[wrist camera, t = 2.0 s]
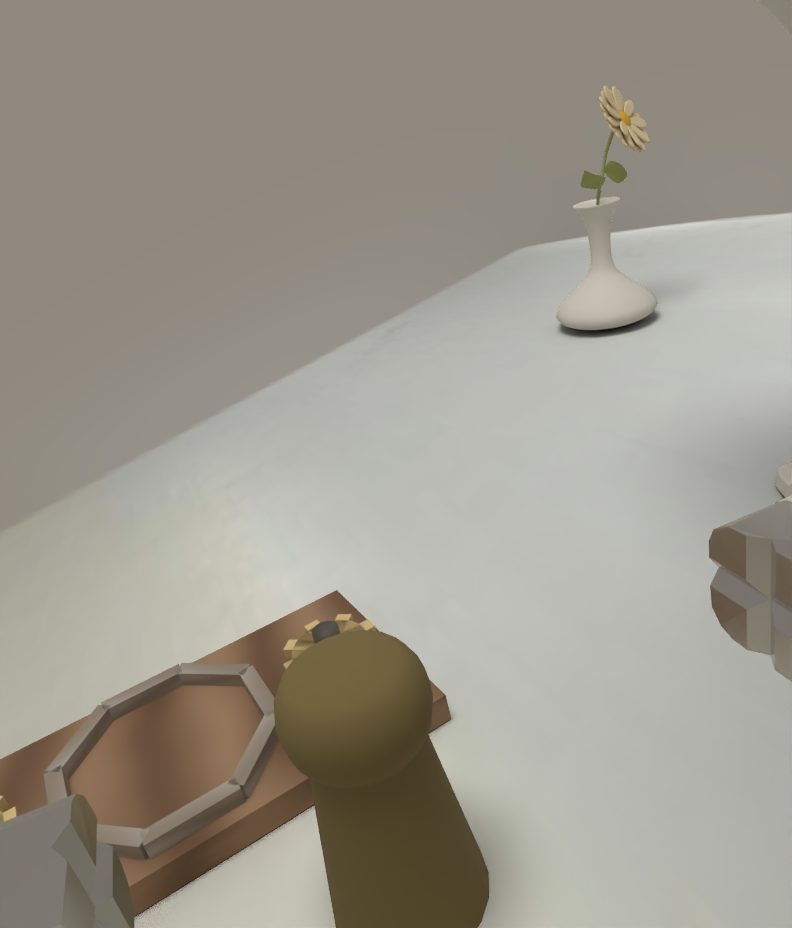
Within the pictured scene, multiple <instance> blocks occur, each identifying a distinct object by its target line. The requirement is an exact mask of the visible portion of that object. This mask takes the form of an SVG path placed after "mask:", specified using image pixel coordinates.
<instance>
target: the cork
mask: <svg viewBox="0 0 792 928" xmlns="http://www.w3.org/2000/svg"><path fill="white" fill-rule="evenodd" d="M432 708H433V693H432V688H431V684H430V681H429V678H428V676H427V673H426V671H425V668H424V666H423V664H422V663H421V661H420V659H419V658H418V656H417V655H416V654H415V653H414V652H413V651H412V650H411V649H410V648H409V647H408V646H406V645H405V644H404V643H403V642H401V641H400V640H398V639H397V638H395V637H393V636H390V635H388V634H385V633H383V632H377V631H368V630H360V631H351V632H344V633H341V634H337V635H334V636H331V637H328V638H325V639H323V640H321V641H319V642H318V643H316V644H314V645H312V646H310V647H308V648H307V649H306V650H304V651H303V652H302V653H301V654H300V655H298V656H297V657H296V658H295V659H294V660H293V661H292V662H291V664H290V665H289V666H288V668H287V669H286V670H285V672H284V673H283V675H282V678H281V681H280V684H279V687H278V690H277V693H276V696H275V699H274V717H275V728H276V734H277V737H278V739H279V742H280V744H281V746H282V748H283V749H284V751H285V753H286V754H287V756H288V757H289V759H290V761H291V762H292V763H293V764H294V766H295V767H296V768H297V769H298V770H299V771H300V772H301V773H302V774H304V775H305V776H307V777H308V778H310V782H311V788H312V793H313V799H314V805H315V810H316V816H317V822H318V827H319V833H320V839H321V845H322V850H323V856H324V862H325V867H326V873H327V879H328V884H329V890H330V896H331V902H332V907H333V913H334V919H335V924H336V928H477V927H478V925H479V924H480V923H481V921H482V917H483V914H484V911H485V908H486V904H487V901H488V898H489V880H488V870H487V867H486V865H485V862H484V859H483V857H482V854H481V851H480V849H479V847H478V845H477V842H476V840H475V838H474V836H473V834H472V831H471V829H470V827H469V825H468V822H467V820H466V818H465V816H464V813H463V811H462V809H461V807H460V805H459V802H458V800H457V798H456V796H455V793H454V791H453V789H452V787H451V784H450V782H449V780H448V778H447V776H446V773H445V771H444V769H443V767H442V764H441V762H440V760H439V758H438V755H437V753H436V751H435V749H434V747H433V744H432V742H431V740H430V738H429V735H428V734H429V732H430V729H431V722H432Z"/></svg>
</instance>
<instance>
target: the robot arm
mask: <svg viewBox="0 0 792 928" xmlns="http://www.w3.org/2000/svg"><path fill="white" fill-rule="evenodd" d="M755 1H757V2H758V3H759V4H760V5H762V6H763V7H764V8H765V9H766V10H767V11H768V12H769V13H770V14H771V15H772V16H773V17H774V18H775V19H776V20H777V21H778V22H779V23H780V24H781V25H782V26H783V27H784V29H785V30H786V31H787V32H788V34H789V35H790V36H791V37H792V0H755ZM775 484H776V487H777V488H778V490H779V491H780V492H781V493H782V494H783V496H784V497H785V498H784V499H782V500H779V501H777V502H776V503H775V504H773V505H770V506H768V507H766V508H763V509H761V510H759V511H756V512H754V513H751V514H749V515H747V516H744V517H742V518H740V519H737V520H735V521H733V522H730V523H728V524H725V525H723V526H721V527H718V528H716V529H714V530H713V532H712V535H711V537H710V540H709V558H710V559H711V560H712V561H713V562H714V563H715V564H716V565H717V566H718V567H719V569H718V571H717V573H716V575H715V577H714V579H713V581H712V583H711V585H710V588H711V600H712V608H713V610H714V612H715V614H716V616H717V618H718V620H719V622H720V624H721V626H722V627H723V628H724V630H725V631H726V632H727V633H728V634H729V635H730V636H731V638H732V639H734V640H735V641H736V642H738V643H739V644H740V645H742V646H743V647H744V648H746V649H747V650H750V651H755V652H759V653H763V654H768V655H771V658H772V661H773V664H774V668H775V670H776V671H777V672H779V673H780V674H782V675H783V676H784V677H786V678H787V679H789V680H790V681H791V682H792V461H791V462H789V463H786V464H784V465H782V466H780V467H779V468H778V470H777V475H776V482H775ZM0 928H134V912H133V906H132V901H131V895H130V890H129V885H128V881H127V878H126V875H125V873H124V870H123V867H122V864H121V862H120V860H119V858H118V856H117V854H116V852H115V850H114V848H113V846H110V845H107V844H105V843H102V842H99V841H97V816H96V815H95V813H94V811H93V810H92V808H91V806H90V805H89V803H88V801H87V799H86V798H85V796H83V795H80V794H77V793H76V794H73V795H71V796H68V797H66V798H63V799H61V800H58V801H56V802H53V803H50V804H48V805H45V806H43V807H40V808H38V809H35V810H32V811H30V812H27V813H25V814H22V815H20V816H17V817H15V818H12V819H9V820H7V821H4V822H2V823H0Z"/></svg>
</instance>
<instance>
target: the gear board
mask: <svg viewBox="0 0 792 928" xmlns="http://www.w3.org/2000/svg"><path fill="white" fill-rule="evenodd" d="M360 630H368V631H377V632H379V631H378V630H377V629H376V628H375V626H374V625H373V624H372V623H371V622H370V621H369V620H368V619H366V618H365V617H364V616H363V615H362V614H361V613H360V612H359V611H358V610H357V609H356V608H355V607H353V606H352V605H351V604H350V603H349V602H348V601H347V600H346V599H345V598H344V597H343V596H342V595H341V594H340V593H339V592H338V591H337V590H336V591H334V592H332V593H330V594H328V595H326V596H324V597H322V598H320V599H318V600H316V601H314V602H312V603H310V604H308V605H306V606H304V607H302V608H300V609H298V610H296V611H294V612H292V613H290V614H288V615H286V616H285V617H283V618H281V619H279V620H277V621H275V622H273V623H271V624H269V625H267V626H265V627H263V628H261V629H259V630H257V631H255V632H253V633H251V634H249V635H247V636H245V637H243V638H241V639H239V640H237V641H235V642H233V643H231V644H229V645H227V646H225V647H223V648H221V649H219V650H217V651H215V652H213V653H211V654H209V655H207V656H205V657H203V658H201V659H199V660H197V661H195V662H193V663H182V664H181V665H180V666H179V664H178V665H176V666H174V667H172V668H170V669H168V670H166V671H164V672H162V673H160V674H158V675H156V676H154V677H152V678H150V679H148V680H146V681H144V682H142V683H140V684H138V685H136V686H134V687H132V688H130V689H128V690H126V691H124V692H122V693H120V694H118V695H116V696H114V697H112V698H110V699H108V700H106V701H104V702H102V703H101V704H102V705H98V706H97V707H96V708H95V710H94V711H93V712H92V713H91V714H90V715H88V716H86V717H84V718H82V719H80V720H78V721H76V722H74V723H72V724H70V725H68V726H66V727H64V728H62V729H60V730H58V731H56V732H54V733H52V734H50V735H48V736H46V737H44V738H42V739H40V740H38V741H36V742H34V743H32V744H30V745H28V746H26V747H24V748H22V749H20V750H18V751H16V752H14V753H12V754H10V755H8V756H6V757H4V758H2V759H0V823H2V822H4V821H7V820H9V819H12V818H15V817H17V816H20V815H22V814H25V813H27V812H30V811H32V810H35V809H38V808H40V807H43V806H45V805H48V804H50V803H53V802H56V801H58V800H61V799H63V798H66V797H68V796H71V795H73V794H76V793H77V794H80V795H83V796H85V798H86V799H87V801H88V803H89V805H90V806H91V808H92V810H93V811H94V813H95V815H96V816H97V841H99V842H102V843H105V844H107V845H110V846H113V848H114V850H115V852H116V854H117V856H118V858H119V860H120V862H121V864H122V867H123V870H124V873H125V875H126V878H127V881H128V885H129V890H130V895H131V901H132V906H133V912H134V916H136V915H137V914H139V913H141V912H142V911H144V910H145V909H147V908H149V907H150V906H152V905H153V904H155V903H157V902H158V901H160V900H161V899H163V898H165V897H166V896H168V895H170V894H171V893H173V892H174V891H176V890H178V889H179V888H181V887H182V886H184V885H186V884H187V883H189V882H190V881H192V880H194V879H195V878H197V877H198V876H200V875H202V874H203V873H205V872H206V871H208V870H210V869H211V868H213V867H214V866H216V865H218V864H219V863H221V862H222V861H224V860H226V859H227V858H229V857H230V856H232V855H234V854H235V853H237V852H238V851H240V850H242V849H243V848H245V847H247V846H248V845H250V844H251V843H253V842H255V841H256V840H258V839H259V838H261V837H263V836H264V835H266V834H267V833H269V832H271V831H272V830H274V829H275V828H277V827H279V826H280V825H282V824H283V823H285V822H287V821H288V820H290V819H291V818H293V817H295V816H296V815H298V814H299V813H301V812H303V811H304V810H306V809H307V808H309V807H311V806H312V805H314V799H313V793H312V788H311V782H310V778H308V777H307V776H305V775H304V774H302V773H301V772H300V771H299V770H298V769H297V768H296V767H295V766H294V764H293V763H292V762H291V761H290V759H289V757H288V756H287V754H286V753H285V751H284V749H283V748H282V746H281V744H280V742H279V739H278V737H277V734H276V728H275V717H274V699H275V696H276V693H277V690H278V687H279V684H280V681H281V678H282V675H283V673H284V672H285V670H286V669H287V668H288V666H289V665H290V664H291V662H292V661H293V660H294V659H295V658H296V657H297V656H298V655H300V654H301V653H302V652H303V651H304V650H306V649H307V648H308V647H310V646H312V645H314V644H316V643H318V642H319V641H321V640H323V639H325V638H328V637H331V636H334V635H337V634H341V633H344V632H351V631H360ZM429 681H430V680H429ZM430 684H431V688H432V693H433V708H432V722H431V729H430V732H431V731H433V730H434V729H436V728H437V727H439V726H441V725H442V724H444V723H445V722H447V721H449V720H450V719H451V716H450V712H449V708H448V704H447V700H446V695H445V694H444V693H443V692H442V691H441V690H440V689H439V688H437V687H436V686H435V685H434V684H433V683H432V682H431V681H430Z"/></svg>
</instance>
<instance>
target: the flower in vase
mask: <svg viewBox="0 0 792 928" xmlns="http://www.w3.org/2000/svg"><path fill="white" fill-rule="evenodd" d="M601 96H602V97H601ZM601 96H600V97H599V99H600V102H601V104H600V107H601V109H602V111H603V112H604V117H605V119H606V120H607V121H608V122H609V128H610V129H611V130H612V131H611V134H610V137H609V139H608V143H607V146H606V149H605V153H604V158H603V164H602V170H601V175H600V176H599V175H595V174H592V173H589V172H587V171H584V174H583V177H582V181H581V186H582V187H583V188H590V189H597V188H598V192H597V199H594V200H589V201H585V202H581V203H578V204H576V205H574V206H573V208H574V209H575V210H576V211H577V212H578V214H579V215H580V216H581V218H582V220H583V222H584V224H585V227H586V230H587V234H588V238H589V244H590V251H591V267H590V270H589V273H588V274H587V276H586V277H585V279H584V280H583V281H582V282H581V283H580V284H579V285H578V286H577V287H576V288H575V289H574V290H573V291H572V292H571V293H570V295H569V296H568V297H567V298H566V299H565V300H564V302H563V303H562V304H561V306H560V307H559V309H558V312H557V316H556V317H557V319H558V320H559V322H560V323H561V324H562V325H564V326H566V327H570V328H574V329H579V330H602V329H610V328H616V327H621V326H625V325H628V324H631V323H634V322H637V321H639V320H641V319H643V318H645V317H647V316H648V315H650V314H651V313H652V312H653V311H654V310H655V308H656V306H657V304H658V302H657V300H656V298H655V296H654V294H653V293H652V292H650V291H649V290H648V289H647V288H645V287H644V286H642V285H641V284H639V283H638V282H636V281H634V280H633V279H631V278H629V277H627V276H626V275H624V274H623V273H621V272H620V271H619V270H618V269H617V268H616V267H615V265H614V263H613V259H612V255H611V245H610V229H611V220H612V215H613V212H614V210H615V207H616V205H617V203H618V202H619V200H620V198H619V197H606V198H600V193H601V187H602V185H603V183H604V181H605V177H603V176H604V172H605V173H606V175H607V176H608V177H609V178H610V179H611V180H613V181H615V182H616V183H620V182H621V181H623V180H624V179H625V178H626V176H627V172H626V170H625V169H624V167H623V166H622V165H621V164H619V163H617V162H614V161H610V162H608V163H607V165H606V167H605V163H606V158H607V154H608V150H609V147H610V144H611V141H612V138H613V135H614V133H615V135H616V136H617V137H618V138H619V139H620V140H621V141H622V143H623V144H624V145H625V146H626V147H628V146H630V147H631V148H632V149H633V150H638V151H639V152H641V149H642V150H644V151H646V148H645V146H644V145H643V144H642V143H646V142H647V143H650V139H649V138H648V137H649V136H648V134H647V133H646V132H645V131H644V130H642V129H640V128H646V127H647V124H646V122H645V121H644V120H643V119H640V116H639V114H638V113H637V112H634V103H633V102H632V101H631V100H628V101H627V102H624V101H623V98H622V95H621V93H620V92H619V91H618V89H617V88H616V87H615V86H613V87H612V91H610V90H609V89H608V87H607V86H604V91H601Z"/></svg>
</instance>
